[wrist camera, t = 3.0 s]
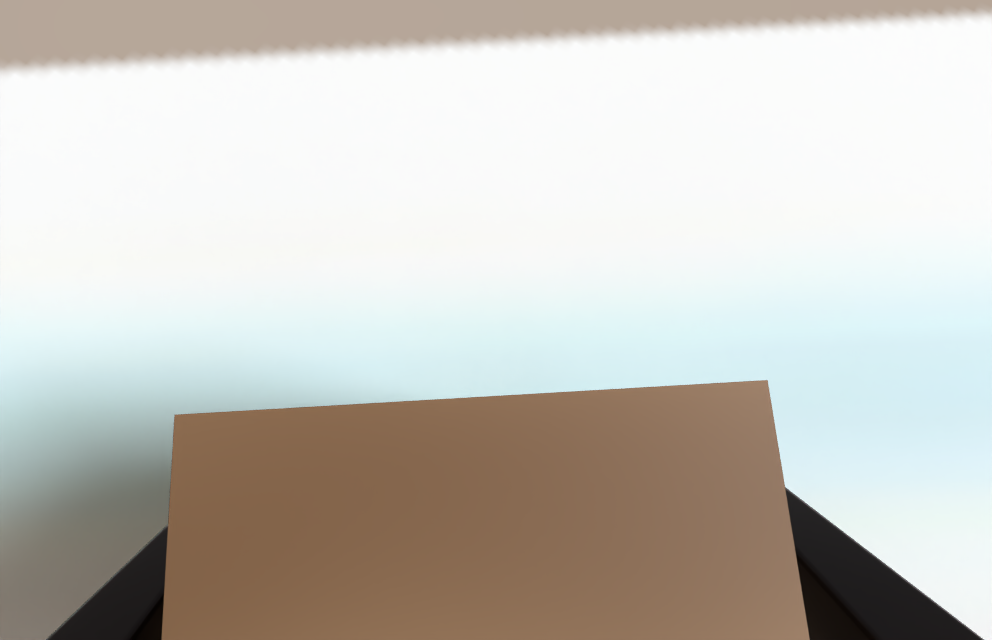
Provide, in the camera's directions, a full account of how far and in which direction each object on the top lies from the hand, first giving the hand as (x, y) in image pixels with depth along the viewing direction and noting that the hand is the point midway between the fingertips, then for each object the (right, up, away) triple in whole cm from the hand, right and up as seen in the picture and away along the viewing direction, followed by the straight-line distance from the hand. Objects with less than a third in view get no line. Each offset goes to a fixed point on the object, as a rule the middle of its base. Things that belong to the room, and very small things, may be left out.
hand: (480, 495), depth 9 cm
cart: (0, -3, +6) cm, 7 cm away
